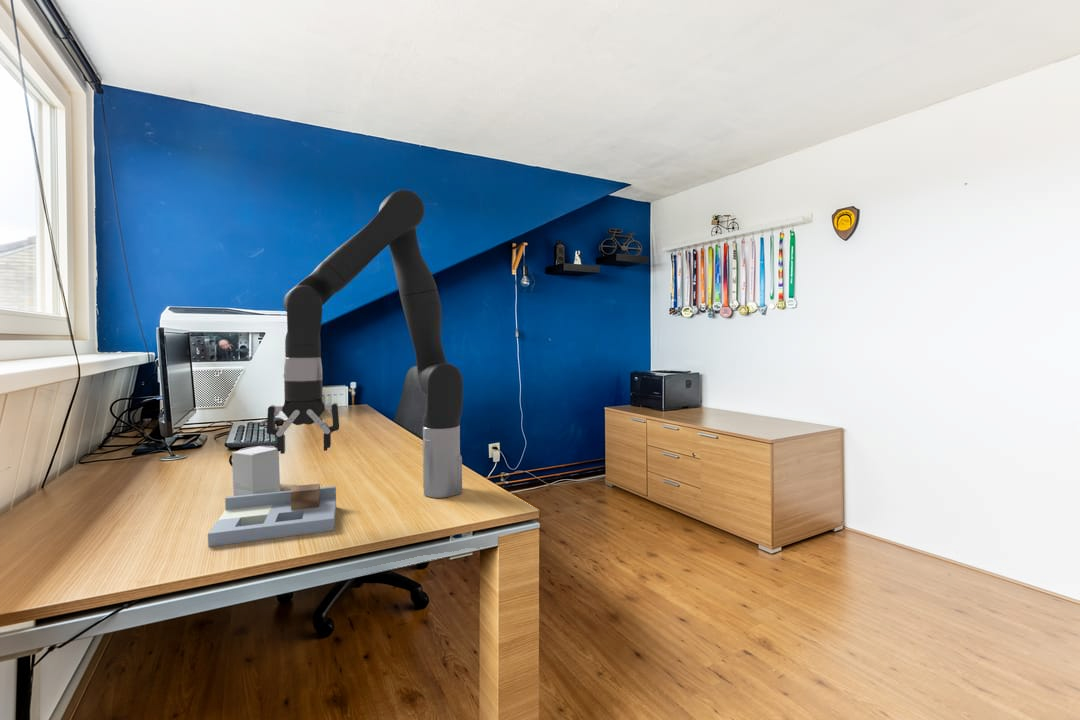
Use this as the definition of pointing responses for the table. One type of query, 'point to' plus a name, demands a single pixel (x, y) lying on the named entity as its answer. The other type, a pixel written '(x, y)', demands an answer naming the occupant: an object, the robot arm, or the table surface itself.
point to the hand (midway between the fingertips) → (304, 451)
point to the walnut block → (305, 496)
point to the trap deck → (271, 517)
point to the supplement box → (255, 471)
